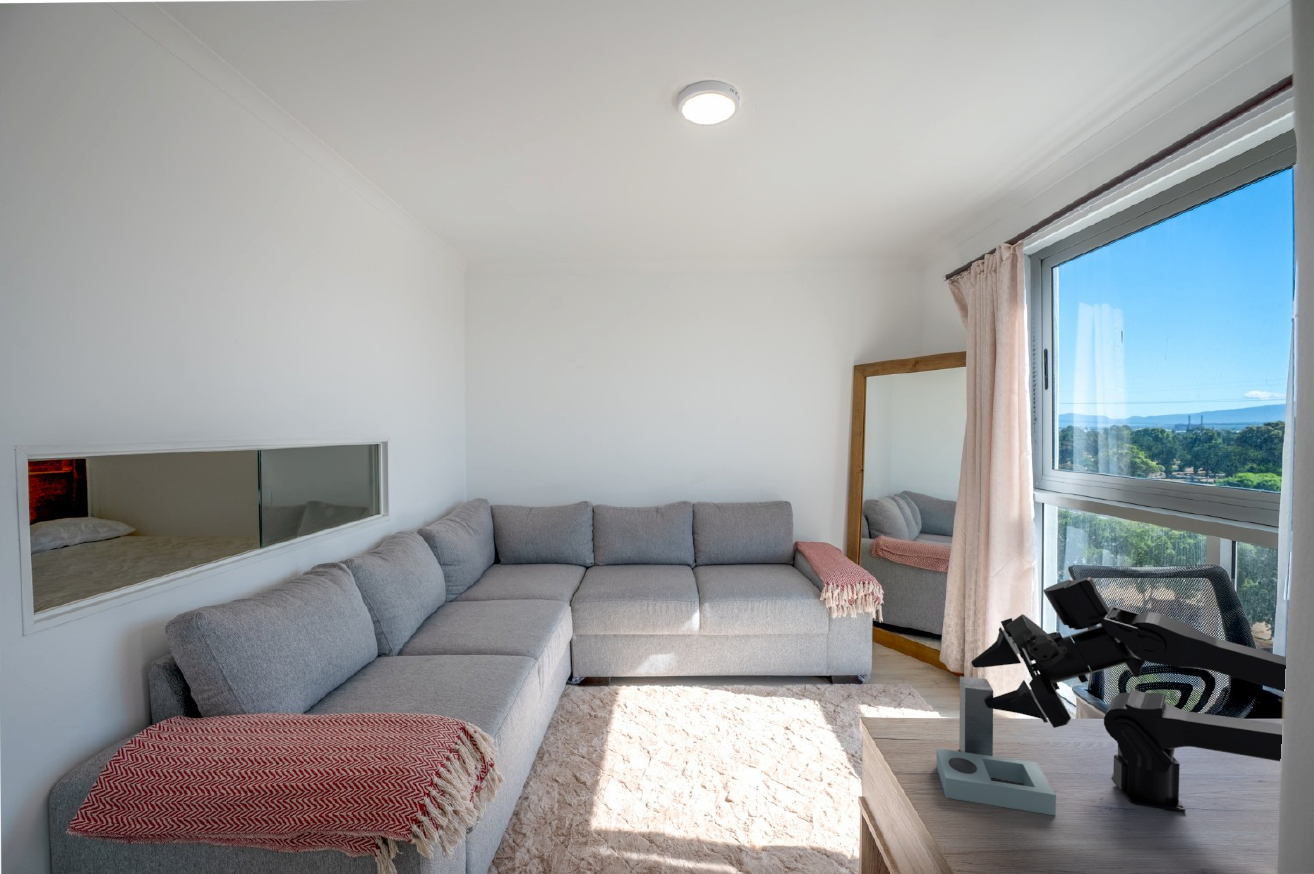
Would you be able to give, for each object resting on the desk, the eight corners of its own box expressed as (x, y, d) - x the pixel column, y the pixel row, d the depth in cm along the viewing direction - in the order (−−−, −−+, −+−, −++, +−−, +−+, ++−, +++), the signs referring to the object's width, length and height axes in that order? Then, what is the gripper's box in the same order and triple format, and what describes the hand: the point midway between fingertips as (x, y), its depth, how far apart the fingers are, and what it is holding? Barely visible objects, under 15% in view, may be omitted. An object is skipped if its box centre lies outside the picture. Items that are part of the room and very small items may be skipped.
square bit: (986, 752, 95) (986, 679, 94) (992, 767, 91) (993, 690, 91) (959, 748, 96) (959, 676, 96) (964, 762, 92) (965, 687, 92)
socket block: (1036, 781, 87) (1037, 761, 87) (1055, 815, 80) (1055, 794, 80) (936, 766, 92) (936, 747, 91) (945, 797, 84) (945, 777, 84)
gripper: (1035, 579, 96) (944, 612, 102) (1081, 654, 79) (968, 688, 85) (1066, 630, 97) (974, 659, 104) (1117, 715, 81) (1004, 743, 87)
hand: (979, 683), depth 95 cm, fingers open, 9 cm apart
